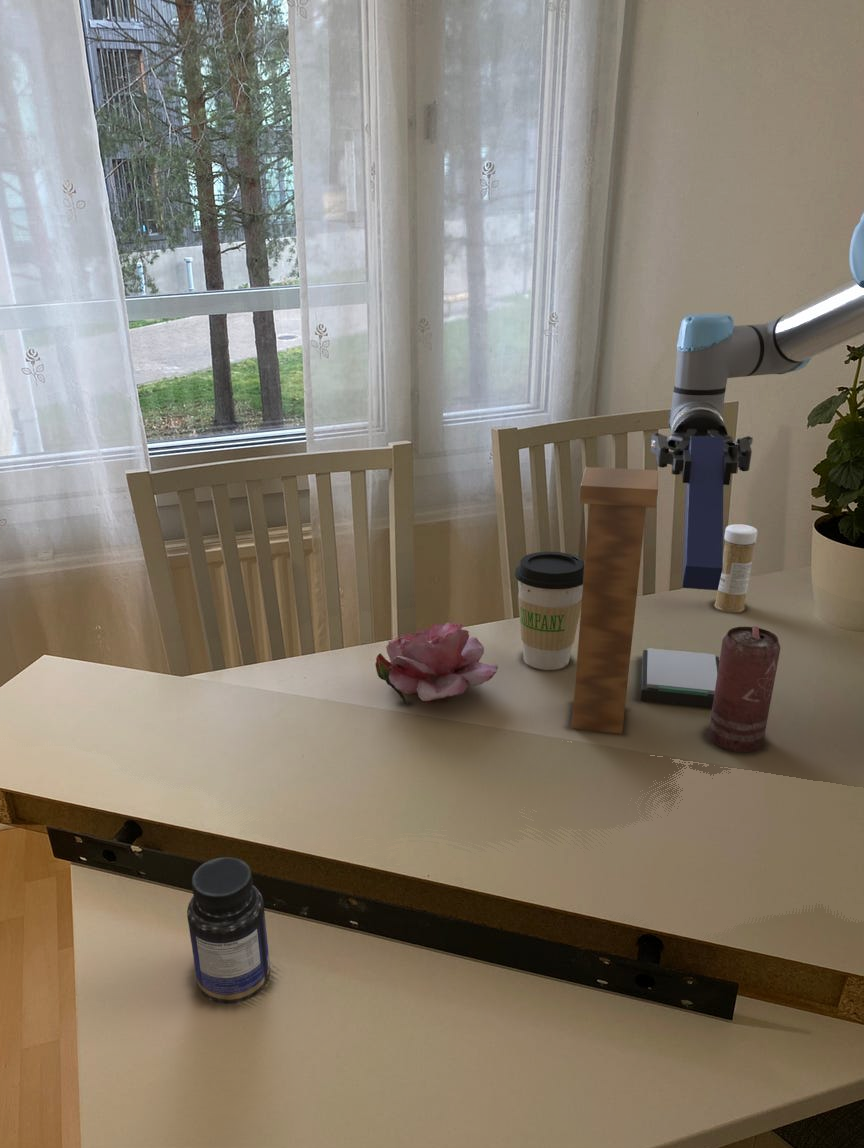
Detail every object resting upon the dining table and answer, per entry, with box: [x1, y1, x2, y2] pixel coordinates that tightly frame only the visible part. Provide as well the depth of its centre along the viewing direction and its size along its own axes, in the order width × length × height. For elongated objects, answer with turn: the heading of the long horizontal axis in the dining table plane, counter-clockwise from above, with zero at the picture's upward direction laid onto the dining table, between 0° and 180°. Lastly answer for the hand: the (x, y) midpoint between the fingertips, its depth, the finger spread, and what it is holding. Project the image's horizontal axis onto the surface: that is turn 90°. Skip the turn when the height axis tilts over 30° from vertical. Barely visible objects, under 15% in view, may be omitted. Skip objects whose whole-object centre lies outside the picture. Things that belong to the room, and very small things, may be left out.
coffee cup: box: [514, 551, 585, 671], centre depth 125 cm, size 10×10×15 cm
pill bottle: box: [186, 856, 271, 1005], centre depth 74 cm, size 6×6×11 cm
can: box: [708, 625, 781, 753], centre depth 105 cm, size 6×6×14 cm
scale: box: [640, 647, 720, 709], centre depth 121 cm, size 10×12×3 cm
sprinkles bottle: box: [714, 523, 758, 613], centre depth 141 cm, size 5×5×14 cm
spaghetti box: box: [681, 436, 724, 591], centre depth 111 cm, size 4×22×4 cm, turn 165°
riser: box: [571, 466, 659, 735], centre depth 107 cm, size 8×8×31 cm
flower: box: [375, 621, 499, 705], centre depth 119 cm, size 15×15×10 cm
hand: (707, 472), depth 111 cm, fingers closed on spaghetti box, 4 cm apart
